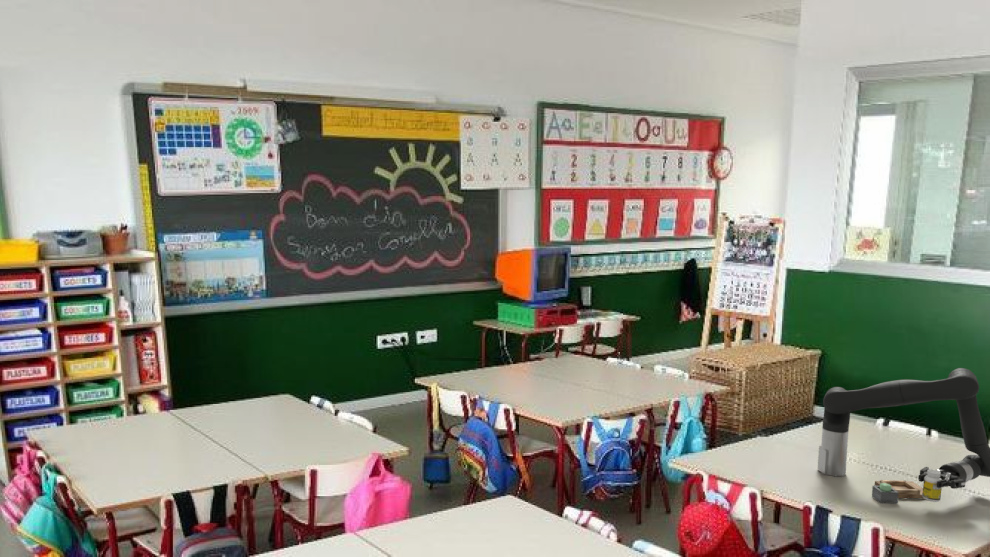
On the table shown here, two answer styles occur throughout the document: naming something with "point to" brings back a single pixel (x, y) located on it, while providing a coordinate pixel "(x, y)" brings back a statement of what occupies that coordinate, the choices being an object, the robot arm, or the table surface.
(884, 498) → the button box
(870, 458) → the table surface
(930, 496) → the supplement bottle
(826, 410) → the robot arm
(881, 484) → the button
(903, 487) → the pallet board
